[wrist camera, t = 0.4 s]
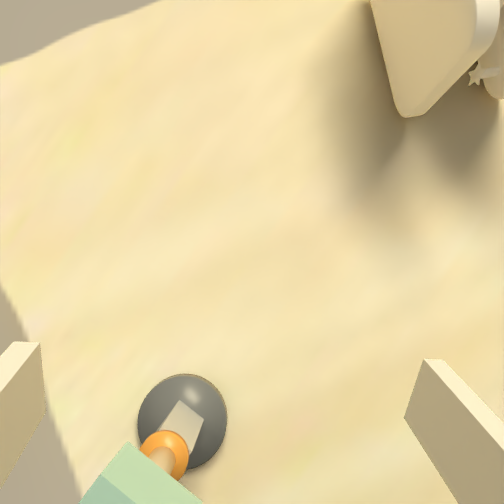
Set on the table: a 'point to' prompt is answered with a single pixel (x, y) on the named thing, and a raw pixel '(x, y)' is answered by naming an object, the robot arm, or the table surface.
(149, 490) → the sleeve
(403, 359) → the table surface
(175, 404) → the post
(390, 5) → the cable organizer
